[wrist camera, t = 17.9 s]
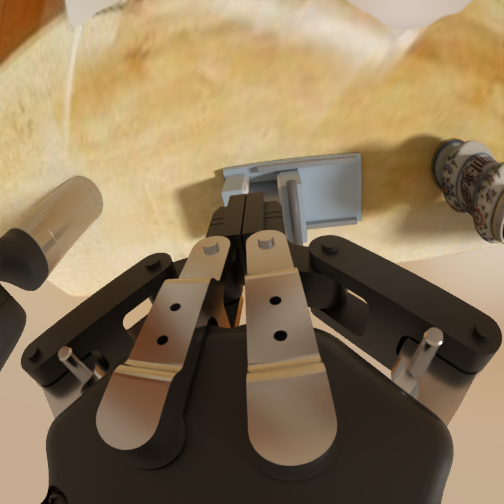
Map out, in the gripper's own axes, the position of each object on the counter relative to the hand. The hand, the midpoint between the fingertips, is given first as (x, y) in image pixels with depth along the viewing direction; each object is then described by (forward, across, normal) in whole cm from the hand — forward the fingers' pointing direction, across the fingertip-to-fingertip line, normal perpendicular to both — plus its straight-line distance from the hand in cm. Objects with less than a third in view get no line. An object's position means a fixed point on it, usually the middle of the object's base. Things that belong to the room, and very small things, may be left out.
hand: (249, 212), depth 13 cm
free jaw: (+26, -3, +11) cm, 29 cm away
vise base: (+28, -4, +11) cm, 30 cm away
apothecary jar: (+27, -32, +8) cm, 43 cm away
